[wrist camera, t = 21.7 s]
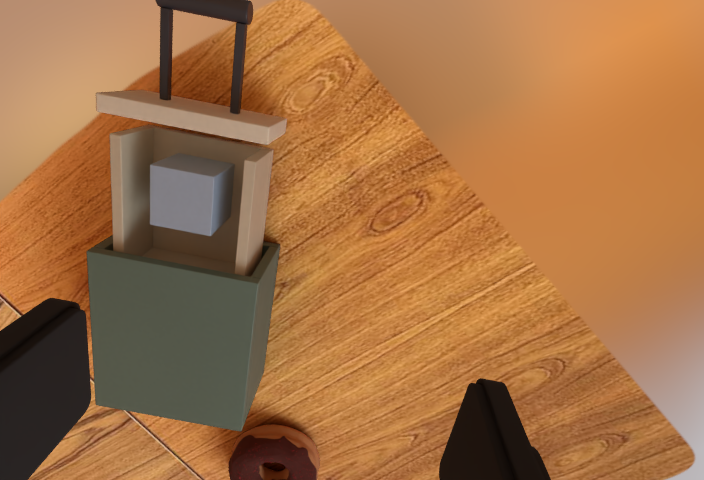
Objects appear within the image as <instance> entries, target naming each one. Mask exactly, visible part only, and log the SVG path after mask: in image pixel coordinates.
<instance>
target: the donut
mask: <svg viewBox="0 0 704 480" xmlns="http://www.w3.org/2000/svg"><path fill="white" fill-rule="evenodd" d="M266 462H269V463H271V462H275V463H280V464H282V465H284V466H285V469H284V470H282V471H273V470H271V469H268V468H266V467H265V466H264V465H263V464H264V463H266ZM319 466H320V458H319V453H318V451H317V448H316V445H315V444H314V442H313V441H312V440H311V439H310V438H309V437H308V436H307V435H305V434H304V433H302V432H300V431H298V430H295V429H293V428H290V427H287V426H283V425H274V424H270V425H262V426H258V427H255V428H253V429H250V430H248V431H246V432H244V433H242V434H241V435H240V436H239V437H238V438H237V440H236V442H235V444H234V446H233V450H232V455H231V458H230V461H229V470H228V471H229V474H230V475H229V476H230V480H317V478H318V471H319Z"/></svg>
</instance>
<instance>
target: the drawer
mask: <svg viewBox="0 0 704 480" xmlns="http://www.w3.org/2000/svg"><path fill="white" fill-rule="evenodd" d="M156 2H157V4H158V6H160V7H161V21H160V93H157V92H152V91H147V90H130V91H116V92H101V93H96V110H97V111H98V112H102V113H107V114H112V115H117V116H122V117H127V118H132V119H138V120H143V121H148V122H153V123H158V124H163V125H168V126H173V127H178V128H183V129H188V130H193V131H199V132H204V133H209V134H214V135H219V136H224V137H229V138H234V139H239V140H244V141H249V142H255V143H260V144H265V145H268V144H269V143H271V142H272V141H274V140H276V139H277V138H279V137H280V136H282V135H283V134H285V131H286V123H287V118H283V117H278V116H273V115H268V114H263V113H258V112H253V111H248V110H243V109H241V97H242V84H243V72H244V60H245V48H246V35H247V25H249V24H251V21H252V18H253V5H252V2H251V1H248V0H156ZM172 9H173V10H178V11H183V12H188V13H193V14H197V15H203V16H208V17H213V18H217V19H222V20H228V21H232V22H237V23H236V34H235V48H234V62H233V75H232V89H231V103H230V107H228V106H223V105H218V104H212V103H207V102H202V101H197V100H192V99H187V98H182V97H177V96H172V95H171V78H172V30H173V10H172ZM246 24H247V25H246ZM273 151H274V149H271V148H266V147H261V146H256V145H251V144H245V143H240V142H235V141H230V140H225V139H220V138H215V137H210V136H205V135H200V134H195V133H189V132H184V131H179V130H174V129H169V128H164V127H159V126H154V125H145V126H141V127H137V128H132V129H128V130H123V131H119V132H114V133H110V164H111V195H112V225H113V251H116V252H122V253H127V254H132V255H137V256H143V257H148V258H153V259H158V260H164V261H169V262H174V263H179V264H185V265H190V266H195V267H200V268H206V269H211V270H216V271H221V272H227V273H232V274H237V275H242V276H248V277H251V276H252V274H253V272H254V271H255V269H256V268H257V266H258V264H259V263H260V261H261V257H262V248H263V239H264V230H265V222H266V213H267V204H268V195H269V186H270V178H271V169H272V160H273ZM178 153H181V154H186V155H191V156H197V157H202V158H207V159H212V160H217V161H222V162H227V163H232V164H235V167H234V180H233V192H232V204H231V217H230V218H229V219H228V220H227V221H226V222H225V223H224V224H223V225H222V226H221V227H220V228H219V229H218V230H216V231H215V232H214V233H213V234H212V235H211V236H207V235H201V234H196V233H191V232H186V231H181V230H175V229H170V228H165V227H160V226H155V225H150V164H153V163H155V162H158V161H160V160H163V159H165V158H168V157H170V156H173V155H175V154H178Z"/></svg>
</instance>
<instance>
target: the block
mask: <svg viewBox="0 0 704 480" xmlns="http://www.w3.org/2000/svg"><path fill="white" fill-rule="evenodd" d="M234 167H235V164H232V163H227V162H222V161H217V160H212V159H207V158H202V157H197V156H191V155H186V154H181V153H178V154H175V155H173V156H170V157H168V158H165V159H163V160H160V161H158V162H155V163H153V164H150V225H155V226H160V227H165V228H170V229H175V230H181V231H186V232H191V233H196V234H201V235H207V236H211V235H212V234H213V233H214V232H215V231H216V230H218V229H219V228H220V227H221V226H222V225H223V224H224V223H225V222H226V221H227V220H228V219H229V218H230V217H231V204H232V192H233V180H234Z"/></svg>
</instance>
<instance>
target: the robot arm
mask: <svg viewBox="0 0 704 480" xmlns="http://www.w3.org/2000/svg"><path fill="white" fill-rule="evenodd" d="M90 401H91V386H90V371H89V355H88V340H87V324H86V314H85V312H84V311H83V310H81V309H80V306H79V304H78V303H76V302H71V301H66V300H60V299H55V298H49V299H47V300H45V301H43V302H42V303H40V304H39V305H37V306H36V307H34V308H33V309H32V310H30V311H29V312H27V313H26V314H24V315H23V316H21V317H20V318H18V319H17V320H15V321H14V322H13V323H11V324H10V325H8V326H7V327H5V328H4V329H2V330H1V331H0V480H28V479H29V477H30V476H31V475H32V474H33V473H34V472H35V470H36V469H37V468H38V467H39V466H40V465H41V463H42V462H43V461H44V460H45V459H46V458H47V456H48V455H49V454H50V453H51V452H52V451H53V449H54V448H55V447H56V446H57V445H58V444H59V442H60V441H61V440H62V439H63V438H64V437H65V435H66V434H67V433H68V432H69V431H70V430H71V429H72V427H73V426H74V425H75V424H76V423H77V422H78V420H79V419H80V418H81V417H82V416H83V415H84V413H85V412H86V410H87V409H88V407H89V404H90ZM439 477H440V480H551V479H550V477H549V474H548V472H547V470H546V467H545V465H544V463H543V460H542V458H541V456H540V454H539V452H538V451H537V450H536V449H535V448H534V447H532V446H531V445H530V442H529V440H528V438H527V435H526V433H525V430H524V428H523V426H522V423H521V421H520V418H519V416H518V414H517V411H516V409H515V406H514V404H513V402H512V399H511V397H510V394H509V392H508V390H507V387H506V385H505V384H504V383H502V382H497V381H492V380H486V379H478V380H477V382H476V384H474V383H470V384H469V386H468V388H467V391H466V394H465V396H464V399H463V402H462V404H461V407H460V410H459V413H458V415H457V418H456V421H455V424H454V426H453V429H452V432H451V434H450V437H449V440H448V443H447V445H446V448H445V451H444V454H443V456H442V459H441V462H440V468H439Z"/></svg>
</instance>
